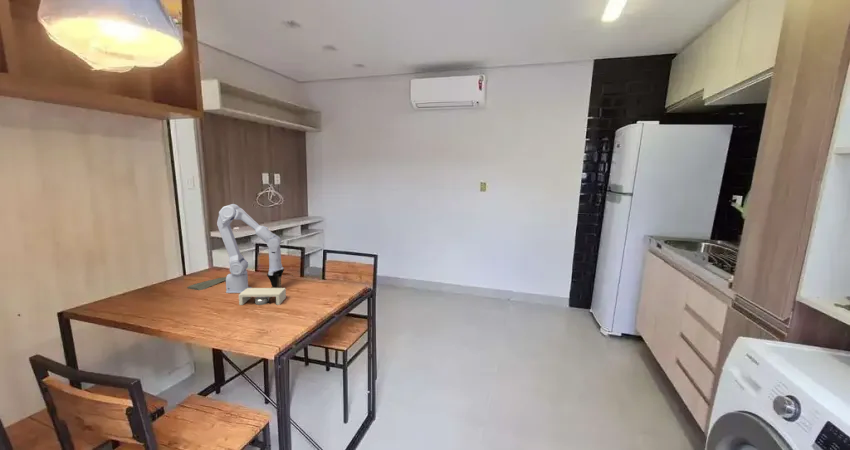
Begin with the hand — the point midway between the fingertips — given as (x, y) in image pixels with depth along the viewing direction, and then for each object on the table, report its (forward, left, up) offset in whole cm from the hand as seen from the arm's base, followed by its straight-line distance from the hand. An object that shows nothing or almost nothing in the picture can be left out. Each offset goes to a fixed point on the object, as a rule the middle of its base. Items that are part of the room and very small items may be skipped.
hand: (276, 284), depth 181 cm
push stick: (0, -6, -2) cm, 7 cm away
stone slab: (-37, +10, -3) cm, 39 cm away
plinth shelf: (0, -18, -2) cm, 18 cm away
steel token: (0, -19, -2) cm, 19 cm away
